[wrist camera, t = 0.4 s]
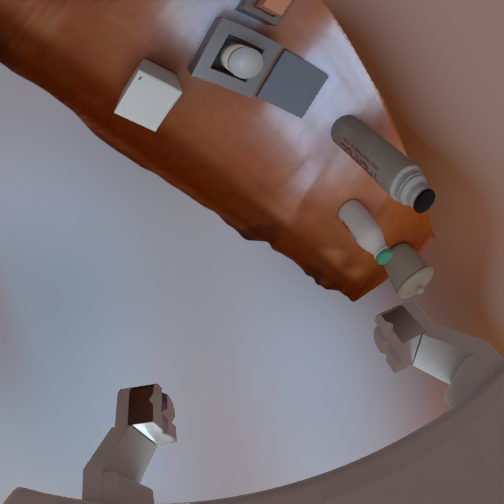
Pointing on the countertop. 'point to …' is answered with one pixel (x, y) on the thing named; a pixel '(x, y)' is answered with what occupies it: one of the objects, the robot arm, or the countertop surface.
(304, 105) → the mat
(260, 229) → the countertop surface
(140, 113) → the supplement box
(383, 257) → the milk bottle
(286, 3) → the plunger
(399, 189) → the thermos bottle
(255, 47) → the housing
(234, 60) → the cylinder
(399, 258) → the canister
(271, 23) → the frame
